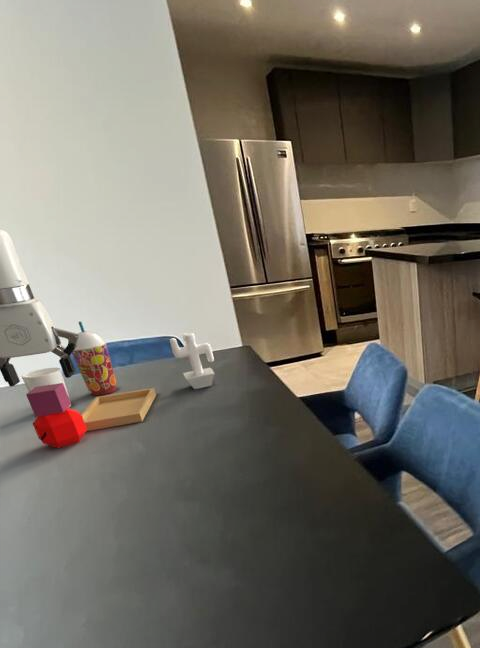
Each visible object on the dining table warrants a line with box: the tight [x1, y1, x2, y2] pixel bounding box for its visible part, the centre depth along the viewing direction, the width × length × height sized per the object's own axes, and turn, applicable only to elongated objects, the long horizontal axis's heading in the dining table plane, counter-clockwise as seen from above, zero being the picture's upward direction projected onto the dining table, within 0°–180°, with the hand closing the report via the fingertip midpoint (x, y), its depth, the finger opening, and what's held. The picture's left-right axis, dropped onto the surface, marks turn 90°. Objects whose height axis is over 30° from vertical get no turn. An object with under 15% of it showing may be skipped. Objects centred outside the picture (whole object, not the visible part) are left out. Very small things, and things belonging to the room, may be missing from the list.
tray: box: [80, 387, 157, 432], centre depth 122 cm, size 14×20×2 cm
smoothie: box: [71, 321, 118, 396], centre depth 135 cm, size 8×8×20 cm
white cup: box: [21, 367, 72, 408], centre depth 126 cm, size 8×8×10 cm
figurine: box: [169, 331, 215, 390], centre depth 136 cm, size 7×9×15 cm
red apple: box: [32, 407, 88, 449], centre depth 106 cm, size 8×8×8 cm
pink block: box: [26, 383, 72, 418], centre depth 103 cm, size 5×5×5 cm
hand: (43, 380), depth 102 cm, fingers open, 9 cm apart
